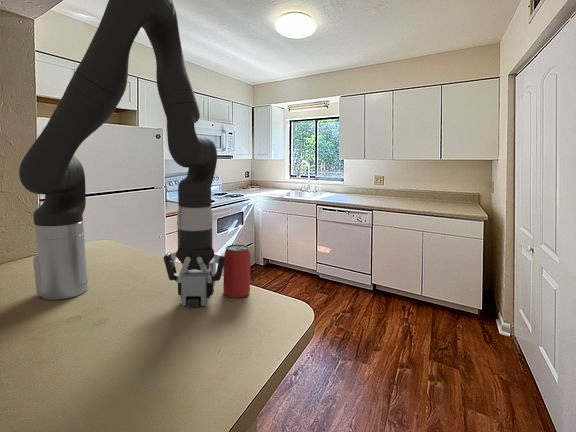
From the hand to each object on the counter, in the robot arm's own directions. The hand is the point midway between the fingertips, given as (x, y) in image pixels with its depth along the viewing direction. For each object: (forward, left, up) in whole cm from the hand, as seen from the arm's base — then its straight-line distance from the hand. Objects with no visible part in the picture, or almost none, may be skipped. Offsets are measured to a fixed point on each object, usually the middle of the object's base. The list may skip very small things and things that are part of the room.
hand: (195, 296), depth 74 cm
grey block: (0, 0, -1) cm, 1 cm away
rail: (0, +5, -1) cm, 5 cm away
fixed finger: (0, +10, -1) cm, 11 cm away
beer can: (+9, +5, -2) cm, 11 cm away
